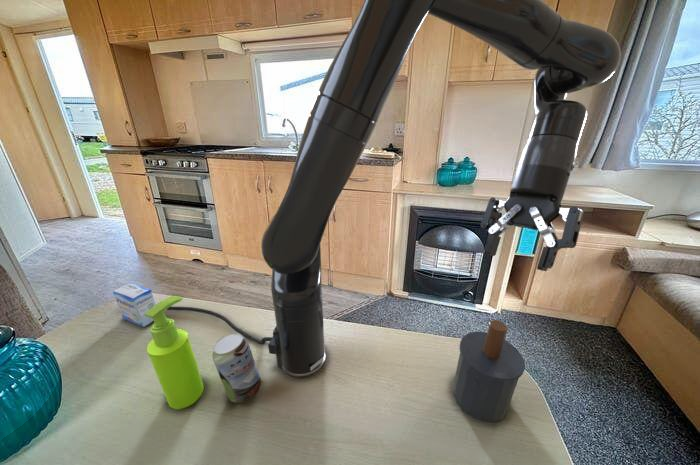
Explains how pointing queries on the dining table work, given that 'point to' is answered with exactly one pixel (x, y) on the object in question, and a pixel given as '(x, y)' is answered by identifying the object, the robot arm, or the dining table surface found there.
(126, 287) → the medicine box
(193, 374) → the soap dispenser
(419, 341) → the dining table surface
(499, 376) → the lid
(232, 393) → the beverage can
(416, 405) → the dining table surface
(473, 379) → the tin
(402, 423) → the dining table surface
